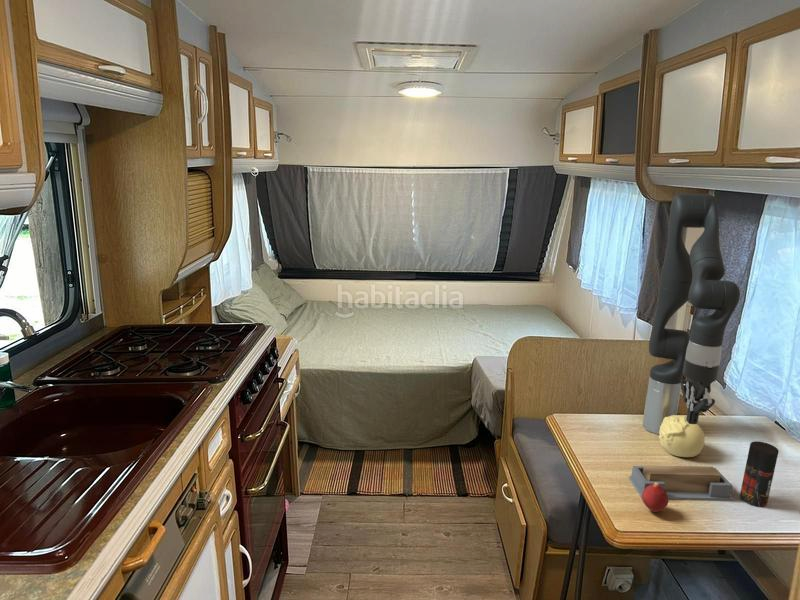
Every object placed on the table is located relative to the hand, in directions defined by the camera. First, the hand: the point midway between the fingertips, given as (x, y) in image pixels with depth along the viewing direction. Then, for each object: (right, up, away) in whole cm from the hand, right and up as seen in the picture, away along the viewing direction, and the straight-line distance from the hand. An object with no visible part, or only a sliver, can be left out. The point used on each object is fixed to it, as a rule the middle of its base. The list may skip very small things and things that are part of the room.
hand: (691, 422), depth 139 cm
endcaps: (-1, -19, +5) cm, 19 cm away
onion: (-12, -21, -4) cm, 25 cm away
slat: (-1, -18, +4) cm, 18 cm away
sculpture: (+8, -14, +23) cm, 28 cm away
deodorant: (+16, -20, +1) cm, 26 cm away
